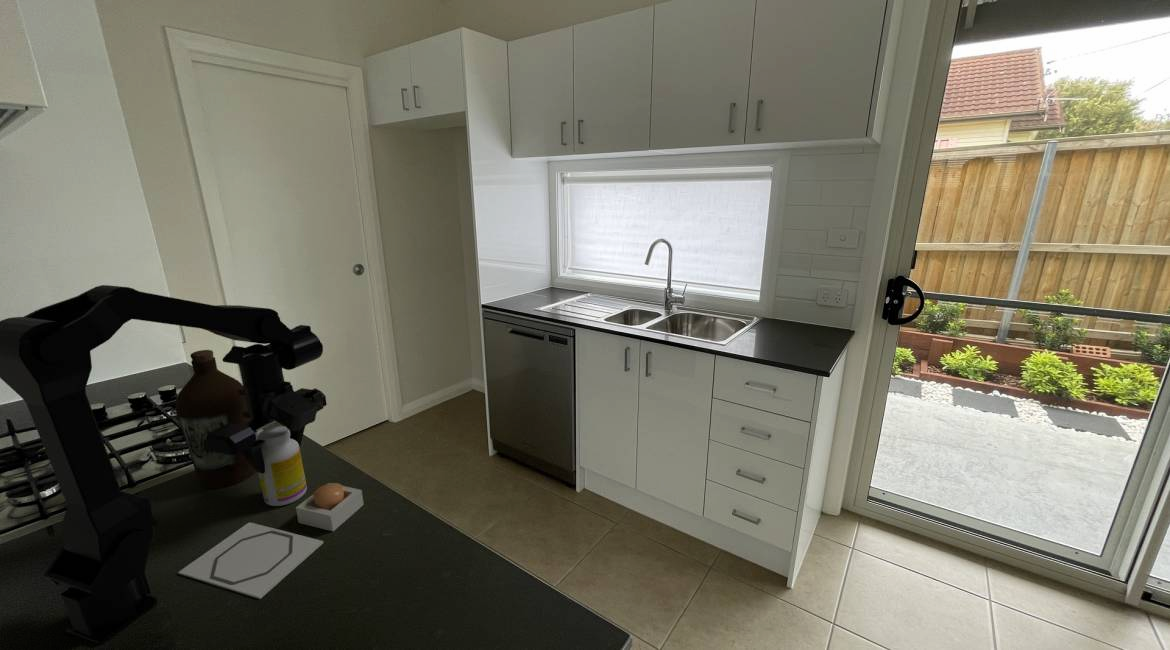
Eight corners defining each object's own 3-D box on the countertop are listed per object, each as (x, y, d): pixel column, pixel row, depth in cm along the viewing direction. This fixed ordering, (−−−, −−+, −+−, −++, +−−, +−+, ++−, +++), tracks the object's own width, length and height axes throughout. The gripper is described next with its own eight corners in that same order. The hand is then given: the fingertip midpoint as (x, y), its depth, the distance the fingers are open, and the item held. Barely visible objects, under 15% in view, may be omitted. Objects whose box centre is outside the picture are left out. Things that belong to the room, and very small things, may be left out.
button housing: (333, 531, 77) (330, 515, 76) (298, 522, 79) (295, 507, 78) (363, 504, 83) (361, 490, 82) (331, 497, 85) (328, 482, 84)
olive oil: (212, 462, 95) (183, 344, 88) (271, 456, 98) (248, 341, 90) (182, 494, 85) (147, 365, 78) (248, 486, 88) (221, 360, 81)
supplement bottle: (315, 486, 88) (304, 424, 85) (290, 509, 82) (278, 443, 78) (282, 483, 89) (269, 422, 85) (255, 506, 82) (240, 441, 79)
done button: (331, 514, 78) (328, 501, 77) (309, 509, 79) (307, 496, 78) (350, 498, 82) (348, 485, 81) (329, 493, 83) (327, 481, 82)
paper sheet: (260, 599, 64) (259, 596, 64) (178, 573, 68) (178, 571, 68) (323, 542, 74) (323, 540, 74) (249, 523, 78) (249, 521, 78)
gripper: (248, 411, 68) (268, 503, 73) (345, 365, 85) (355, 442, 90) (191, 401, 71) (213, 490, 75) (295, 359, 88) (308, 433, 93)
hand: (279, 461), depth 83 cm, fingers closed on supplement bottle, 7 cm apart
